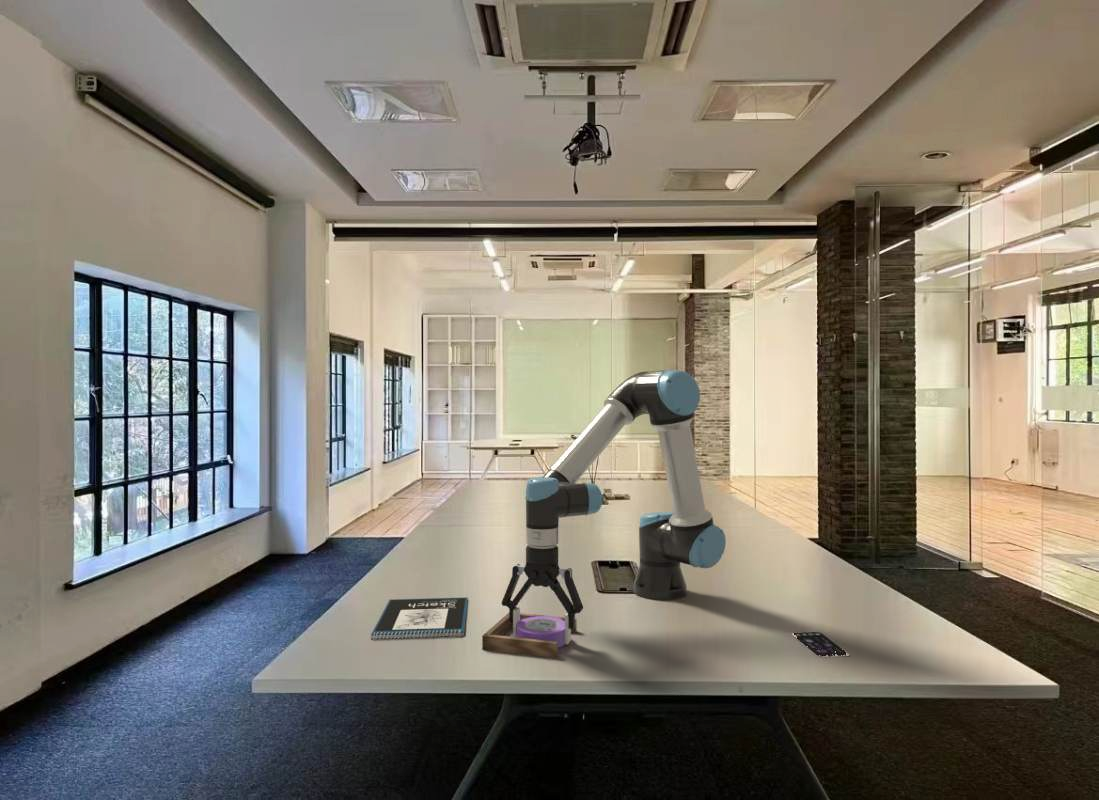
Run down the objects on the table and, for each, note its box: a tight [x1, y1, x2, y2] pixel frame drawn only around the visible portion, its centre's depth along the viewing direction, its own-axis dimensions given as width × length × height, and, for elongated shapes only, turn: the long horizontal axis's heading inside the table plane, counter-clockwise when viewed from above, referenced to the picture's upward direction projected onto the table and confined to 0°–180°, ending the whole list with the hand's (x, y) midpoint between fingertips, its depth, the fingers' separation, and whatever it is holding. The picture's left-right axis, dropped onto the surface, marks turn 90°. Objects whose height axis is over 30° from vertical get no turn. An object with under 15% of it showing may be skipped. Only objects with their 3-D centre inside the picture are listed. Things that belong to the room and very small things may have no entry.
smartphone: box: [793, 631, 847, 658], centre depth 150 cm, size 8×1×15 cm
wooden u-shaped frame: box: [481, 612, 578, 659], centre depth 153 cm, size 17×17×3 cm
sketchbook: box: [370, 596, 469, 641], centre depth 169 cm, size 22×30×2 cm
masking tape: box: [517, 615, 566, 649], centre depth 153 cm, size 12×12×4 cm
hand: (541, 639), depth 153 cm, fingers closed on masking tape, 12 cm apart
